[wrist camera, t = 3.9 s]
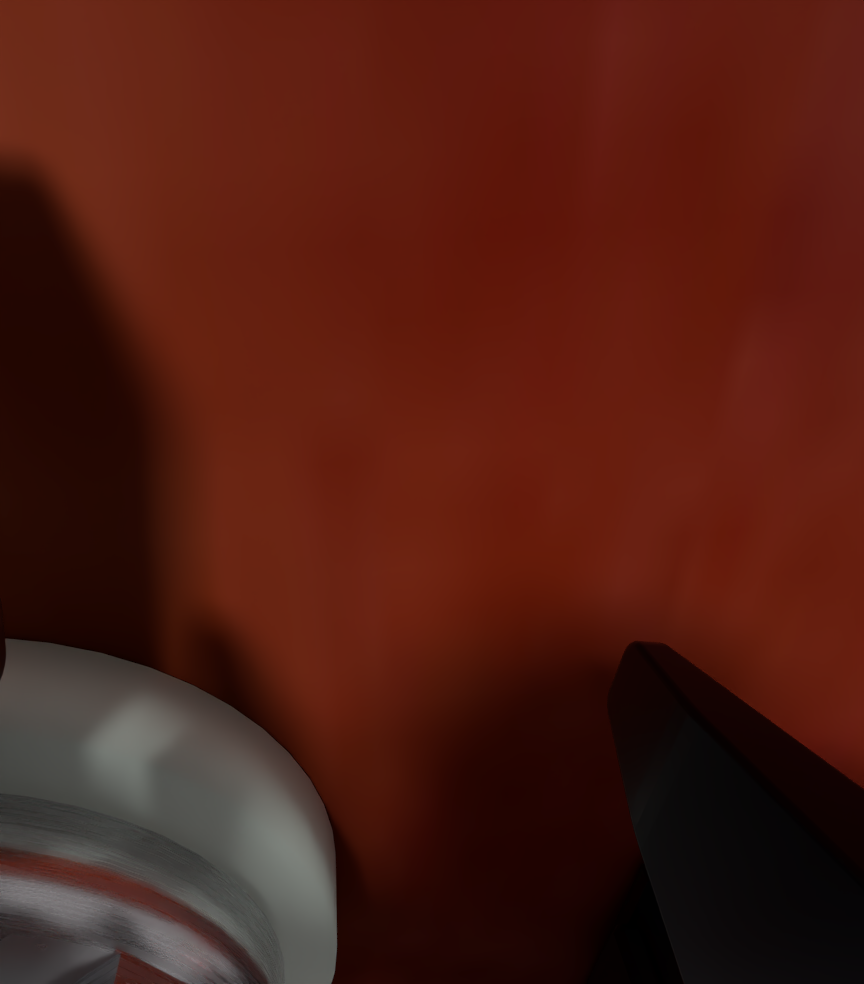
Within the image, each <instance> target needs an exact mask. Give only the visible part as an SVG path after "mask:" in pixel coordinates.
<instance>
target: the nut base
mask: <svg viewBox="0 0 864 984" xmlns="http://www.w3.org/2000/svg"><path fill="white" fill-rule="evenodd" d="M5 643H6V662H5V667H4V671H3V675H2V677H1V680H0V793H2V794H11V795H19V796H28V797H34V798H39V799H44V800H49V801H54V802H59V803H64V804H69V805H74V806H78V807H82V808H85V809H89V810H92V811H96V812H99V813H102V814H106V815H109V816H113V817H116V818H119V819H123V820H125V821H128V822H130V823H133V824H135V825H138V826H140V827H143V828H145V829H148V830H150V831H153V832H155V833H158V834H160V835H163V836H165V837H167V838H169V839H170V840H172V841H174V842H176V843H178V844H180V845H182V846H184V847H186V848H188V849H189V850H191V851H193V852H195V853H197V854H199V855H200V856H201V857H203V858H204V859H206V860H207V861H209V862H210V863H212V864H213V865H214V866H216V867H217V868H219V869H220V870H222V871H223V872H225V873H226V874H227V875H228V876H229V877H230V878H232V879H233V880H234V881H235V882H236V883H237V884H238V885H239V886H240V887H241V888H242V889H244V890H245V891H246V892H247V893H248V894H249V895H250V896H251V898H252V899H253V900H254V901H255V903H256V904H257V905H258V906H259V908H260V909H261V910H262V912H263V913H264V914H265V915H266V917H267V919H268V920H269V922H270V924H271V926H272V928H273V930H274V932H275V934H276V936H277V938H278V940H279V944H280V948H281V951H282V955H283V959H284V971H285V984H331V983H332V980H333V976H334V973H335V965H336V953H337V906H336V853H335V845H334V837H333V830H332V827H331V824H330V821H329V818H328V815H327V812H326V809H325V806H324V804H323V802H322V800H321V798H320V796H319V795H318V793H317V791H316V789H315V787H314V786H313V784H312V782H311V780H310V778H309V777H308V776H307V775H306V773H305V772H304V771H303V770H302V768H301V767H300V766H299V765H298V763H297V762H296V761H295V760H294V758H293V757H292V756H291V755H290V753H289V752H288V751H286V750H285V749H284V748H283V747H282V746H281V745H280V744H279V743H278V742H277V741H276V740H275V739H274V738H273V737H271V736H270V735H269V734H268V733H267V732H266V731H265V730H264V729H263V728H261V727H260V726H259V725H257V724H256V723H254V722H253V721H252V720H250V719H249V718H247V717H246V716H244V715H243V714H242V713H240V712H239V711H237V710H236V709H235V708H233V707H232V706H230V705H228V704H227V703H225V702H223V701H221V700H219V699H217V698H216V697H214V696H212V695H210V694H208V693H206V692H205V691H203V690H201V689H199V688H197V687H195V686H194V685H191V684H189V683H187V682H184V681H182V680H179V679H177V678H174V677H172V676H170V675H167V674H165V673H162V672H160V671H157V670H155V669H153V668H150V667H147V666H144V665H140V664H137V663H134V662H130V661H127V660H124V659H120V658H117V657H114V656H110V655H107V654H103V653H99V652H94V651H89V650H84V649H79V648H74V647H69V646H64V645H59V644H54V643H47V642H37V641H27V640H17V639H7V638H5Z"/></svg>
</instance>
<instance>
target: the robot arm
mask: <svg viewBox="0 0 864 984" xmlns="http://www.w3.org/2000/svg"><path fill="white" fill-rule="evenodd" d="M5 662H6V643H5V633H4V622H3V612H2V603H1V599H0V680H1V677H2V675H3V671H4V667H5ZM607 707H608V715H609V719H610V724H611V729H612V733H613V738H614V743H615V747H616V752H617V757H618V761H619V766H620V770H621V775H622V780H623V784H624V789H625V794H626V798H627V803H628V808H629V812H630V816H631V820H632V824H633V828H634V832H635V835H636V838H637V842H638V845H639V848H640V852H641V855H642V858H643V861H644V863H643V865H642V866H641V868H640V870H639V872H638V874H637V876H636V879H635V881H634V883H633V885H632V887H631V889H630V892H629V894H628V896H627V898H626V900H625V902H624V904H623V907H622V909H621V911H620V913H619V915H618V917H617V920H616V922H615V924H614V926H613V928H612V930H611V932H610V935H609V937H608V939H607V941H606V943H605V945H604V948H603V950H602V952H601V954H600V956H599V958H598V961H597V963H596V965H595V967H594V969H593V971H592V973H591V976H590V978H589V980H588V982H587V984H864V789H863V788H861V787H860V786H859V785H857V784H856V783H855V782H853V781H852V780H850V779H849V778H848V777H846V776H845V775H844V774H842V773H841V772H839V771H838V770H837V769H835V768H834V767H833V766H831V765H830V764H829V763H827V762H826V761H824V760H823V759H822V758H820V757H819V756H818V755H816V754H815V753H813V752H812V751H811V750H809V749H808V748H807V747H805V746H804V745H803V744H801V743H800V742H798V741H797V740H796V739H794V738H793V737H792V736H790V735H789V734H788V733H786V732H785V731H783V730H782V729H781V728H779V727H778V726H777V725H775V724H774V723H772V722H771V721H770V720H768V719H767V718H766V717H764V716H763V715H762V714H760V713H759V712H757V711H756V710H755V709H753V708H752V707H751V706H749V705H748V704H747V703H745V702H744V701H742V700H741V699H740V698H738V697H737V696H736V695H734V694H733V693H731V692H730V691H729V690H727V689H726V688H725V687H723V686H722V685H721V684H719V683H718V682H716V681H715V680H714V679H712V678H711V677H710V676H708V675H707V674H706V673H704V672H703V671H701V670H700V669H699V668H697V667H696V666H695V665H693V664H692V663H690V662H689V661H688V660H686V659H685V658H684V657H682V656H681V655H680V654H678V653H677V652H675V651H674V650H673V649H671V648H670V647H669V646H667V645H665V644H662V643H655V642H643V641H634V642H632V643H630V644H629V645H628V646H627V647H626V649H625V651H624V654H623V656H622V659H621V661H620V664H619V667H618V669H617V672H616V674H615V677H614V679H613V682H612V685H611V687H610V690H609V693H608V700H607Z"/></svg>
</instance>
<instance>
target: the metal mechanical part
mask: <svg viewBox="0 0 864 984" xmlns="http://www.w3.org/2000/svg"><path fill="white" fill-rule="evenodd" d="M0 984H285V971H284V959H283V955H282V951H281V948H280V944H279V940H278V938H277V936H276V934H275V932H274V930H273V928H272V926H271V924H270V922H269V920H268V919H267V917H266V915H265V914H264V913H263V912H262V910H261V909H260V908H259V906H258V905H257V904H256V903H255V901H254V900H253V899H252V898H251V896H250V895H249V894H248V893H247V892H246V891H245V890H244V889H242V888H241V887H240V886H239V885H238V884H237V883H236V882H235V881H234V880H233V879H232V878H230V877H229V876H228V875H227V874H226V873H225V872H223V871H222V870H220V869H219V868H217V867H216V866H214V865H213V864H212V863H210V862H209V861H207V860H206V859H204V858H203V857H201V856H200V855H199V854H197V853H195V852H193V851H191V850H189V849H188V848H186V847H184V846H182V845H180V844H178V843H176V842H174V841H172V840H170V839H169V838H167V837H165V836H163V835H160V834H158V833H155V832H153V831H150V830H148V829H145V828H143V827H140V826H138V825H135V824H133V823H130V822H128V821H125V820H123V819H119V818H116V817H113V816H109V815H106V814H102V813H99V812H96V811H92V810H89V809H85V808H82V807H78V806H74V805H69V804H64V803H59V802H54V801H49V800H44V799H39V798H34V797H28V796H19V795H11V794H2V793H0Z"/></svg>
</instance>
